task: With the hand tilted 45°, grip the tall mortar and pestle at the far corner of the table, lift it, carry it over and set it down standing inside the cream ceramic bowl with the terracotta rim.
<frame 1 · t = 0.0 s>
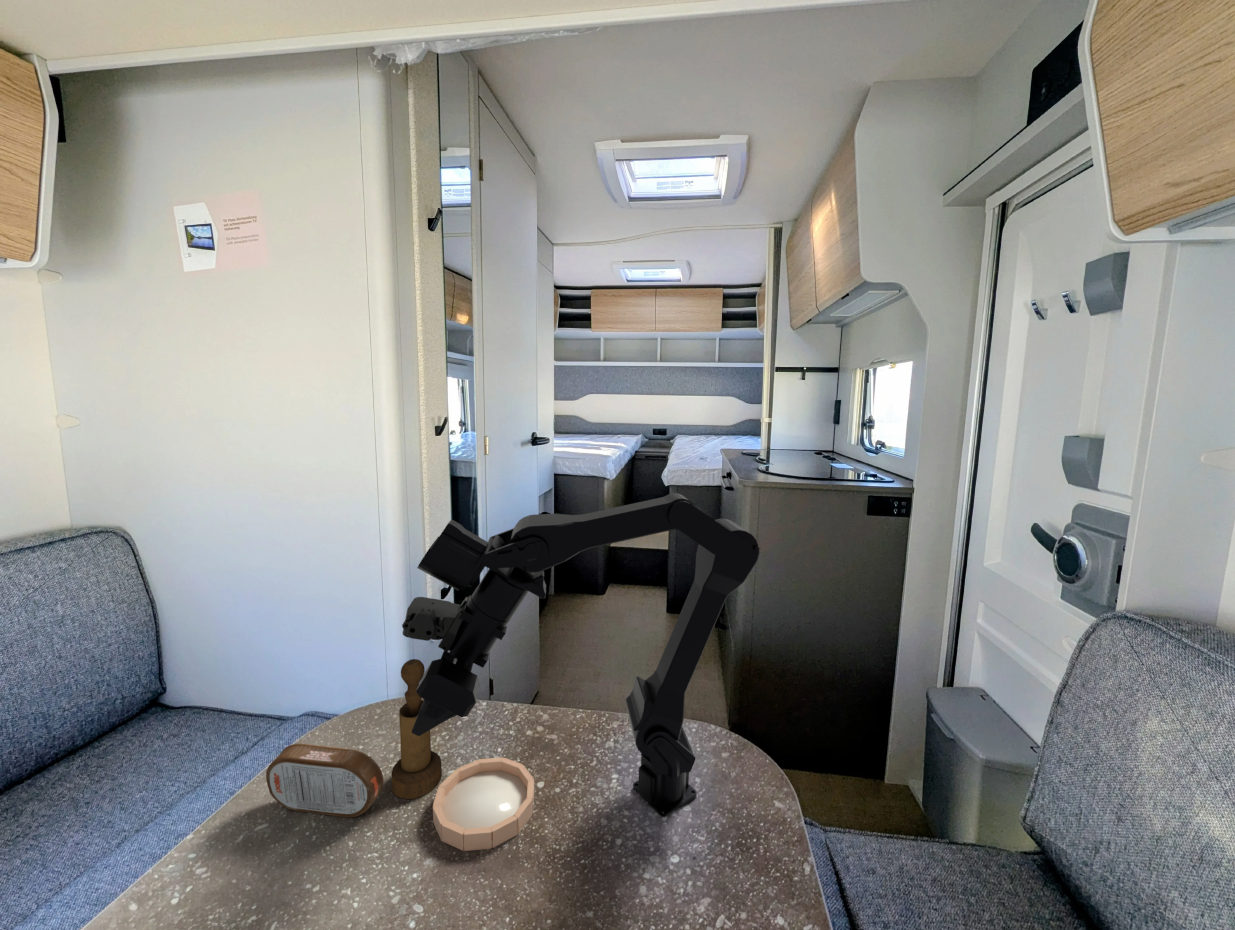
hand: (424, 709, 63), 15 cm above the table, tool tilted 35°, fingers open, 9 cm apart
bowl: (485, 807, 66), on the table
mortar and pestle: (417, 782, 71), on the table
tin: (326, 810, 66), on the table
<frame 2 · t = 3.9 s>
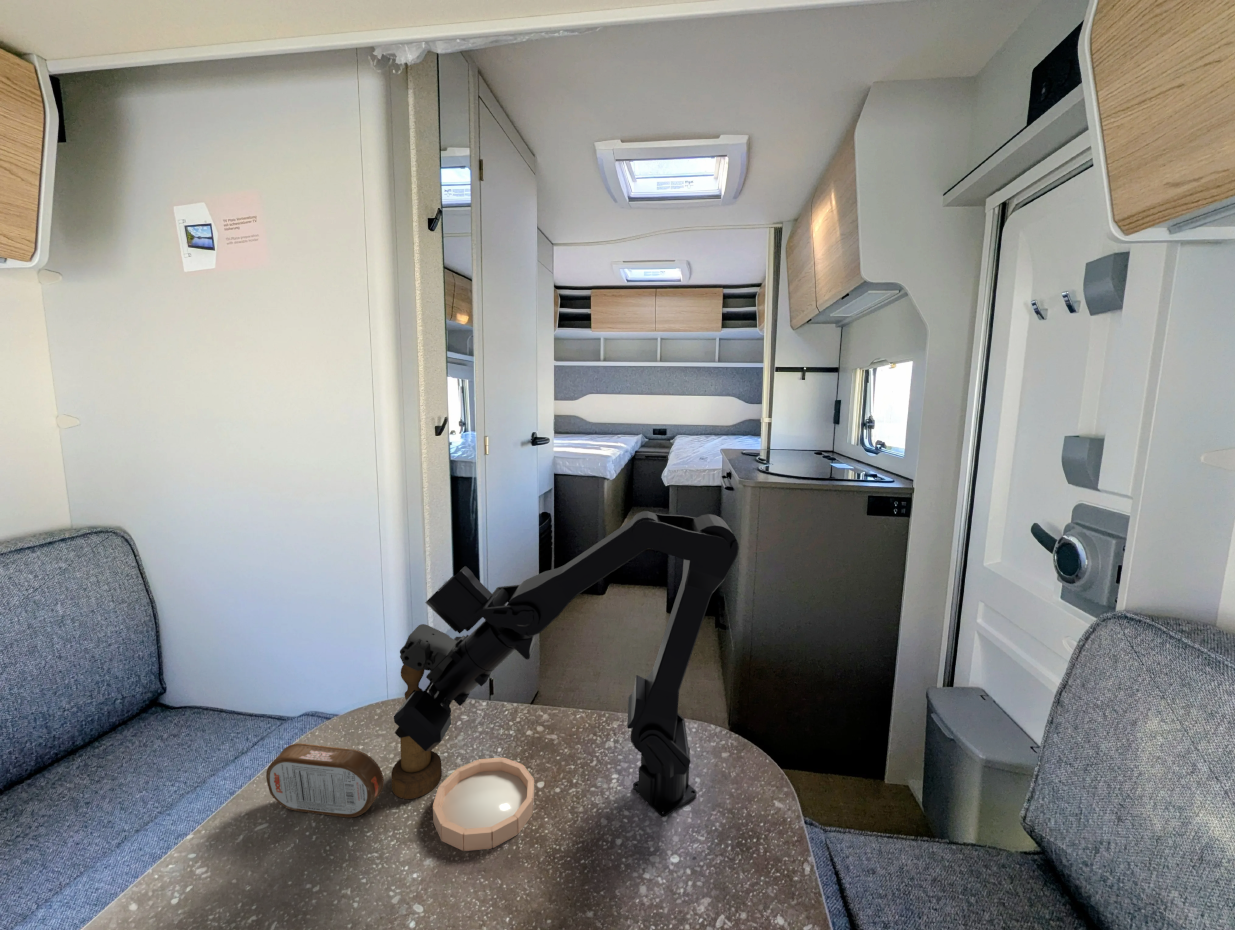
hand: (404, 724, 70), 9 cm above the table, tool tilted 45°, fingers closed on mortar and pestle, 4 cm apart
mortar and pestle: (417, 782, 71), on the table, touching gripper
everything else where it was.
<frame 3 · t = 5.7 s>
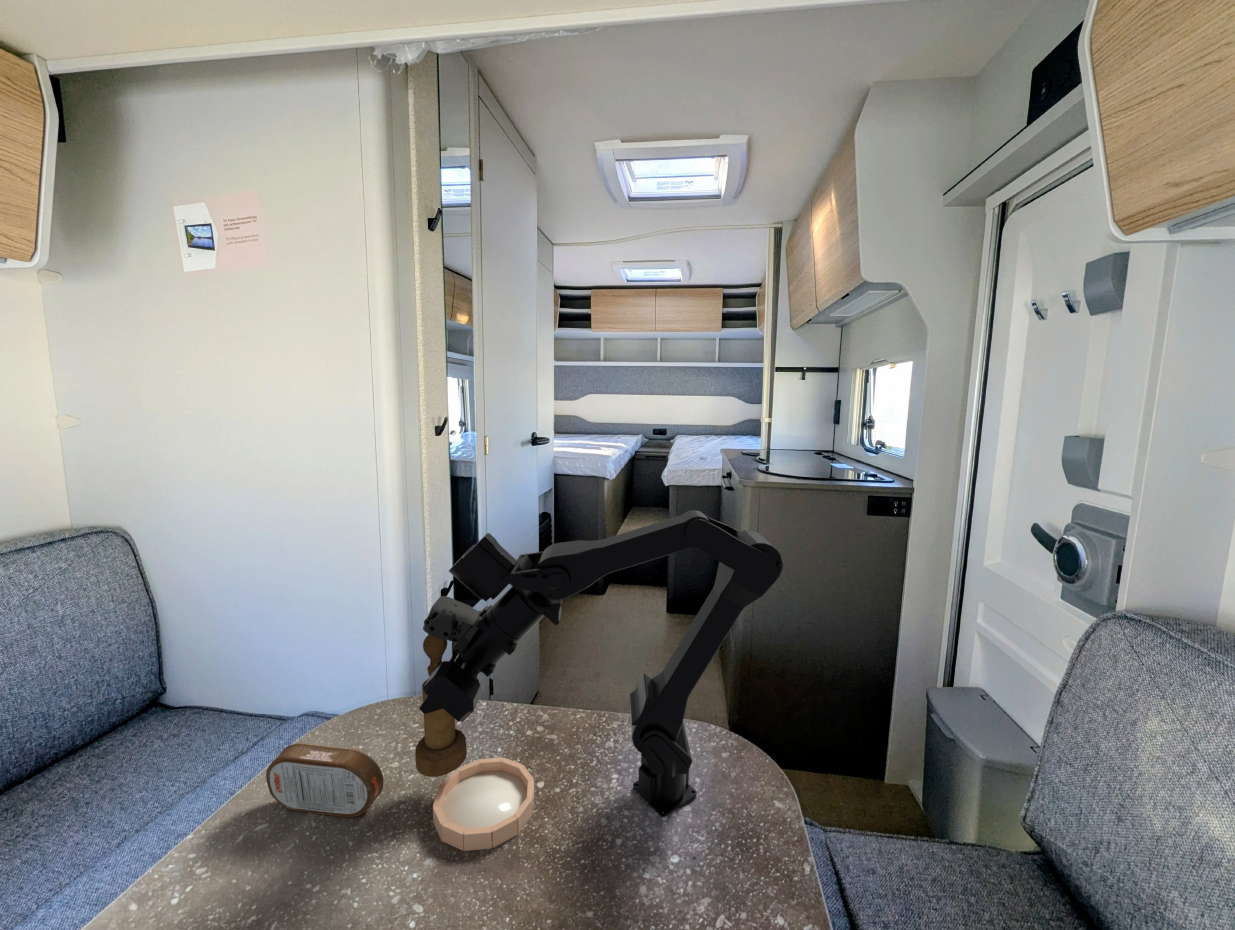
hand: (428, 701, 67), 13 cm above the table, tool tilted 45°, fingers closed on mortar and pestle, 4 cm apart
mortar and pestle: (441, 760, 68), point 5 cm above the table, touching gripper
everything else where it was.
when the fingers open (11 cm above the table, at t = 7.8 s): mortar and pestle drops 1 cm, resting on bowl.
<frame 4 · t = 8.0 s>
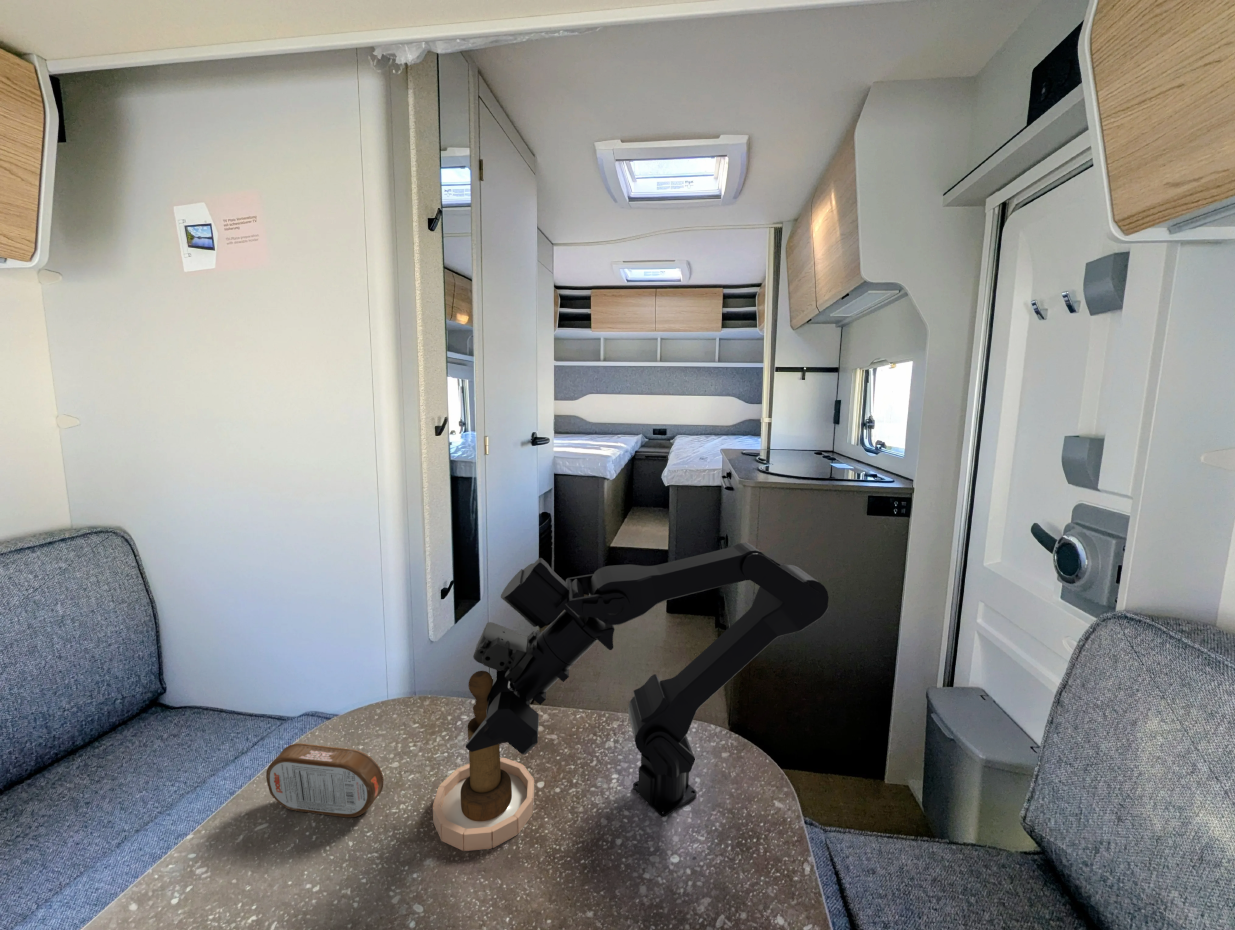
hand: (472, 731, 65), 11 cm above the table, tool tilted 45°, fingers open, 6 cm apart
mortar and pestle: (486, 802, 66), point 1 cm above the table, touching bowl
everything else where it was.
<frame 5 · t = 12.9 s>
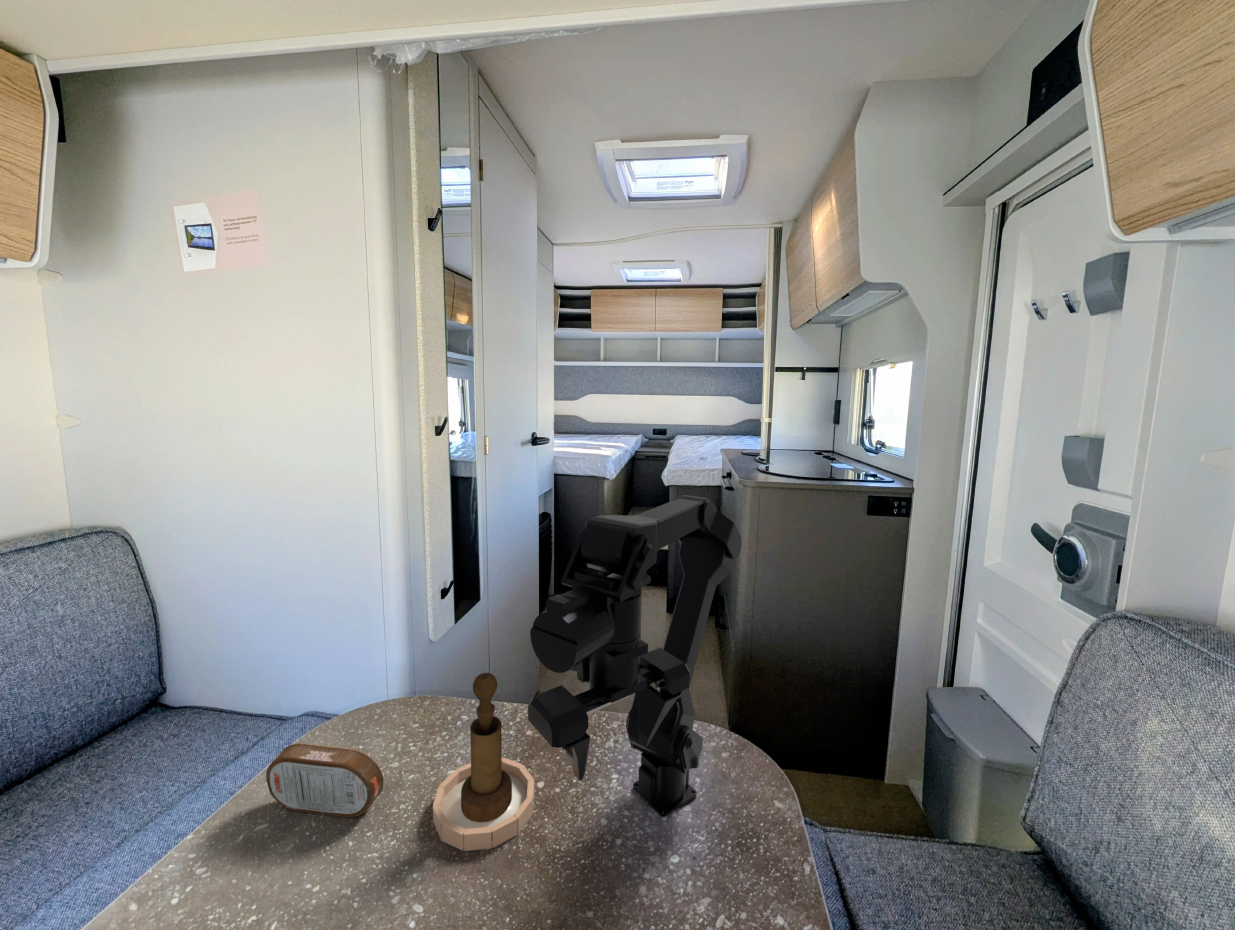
hand: (612, 760, 57), 13 cm above the table, tool pointing down, fingers open, 9 cm apart
nothing on the table moved.
at the end: mortar and pestle 0.2 cm off-centre on the bowl, point 0.6 cm above the bowl's base; mortar and pestle tilted 1°; the gripper is holding nothing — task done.
